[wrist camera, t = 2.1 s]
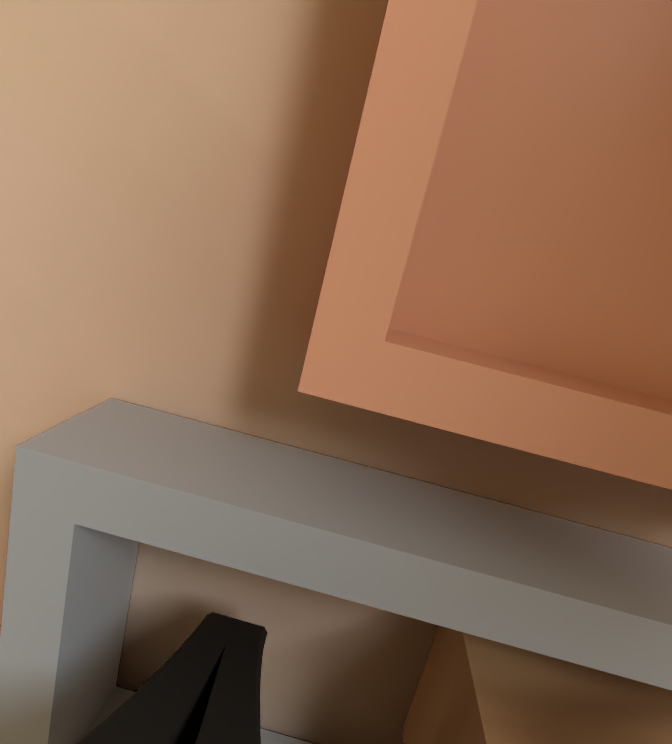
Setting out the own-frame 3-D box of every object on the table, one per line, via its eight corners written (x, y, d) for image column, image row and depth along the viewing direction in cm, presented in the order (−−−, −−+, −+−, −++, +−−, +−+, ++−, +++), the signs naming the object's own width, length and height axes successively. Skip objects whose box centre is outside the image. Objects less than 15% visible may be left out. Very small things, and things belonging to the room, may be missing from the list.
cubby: (737, 565, 11) (869, 679, 8) (584, 859, 13) (643, 1032, 10) (111, 398, 11) (16, 445, 8) (70, 707, 13) (-16, 830, 11)
